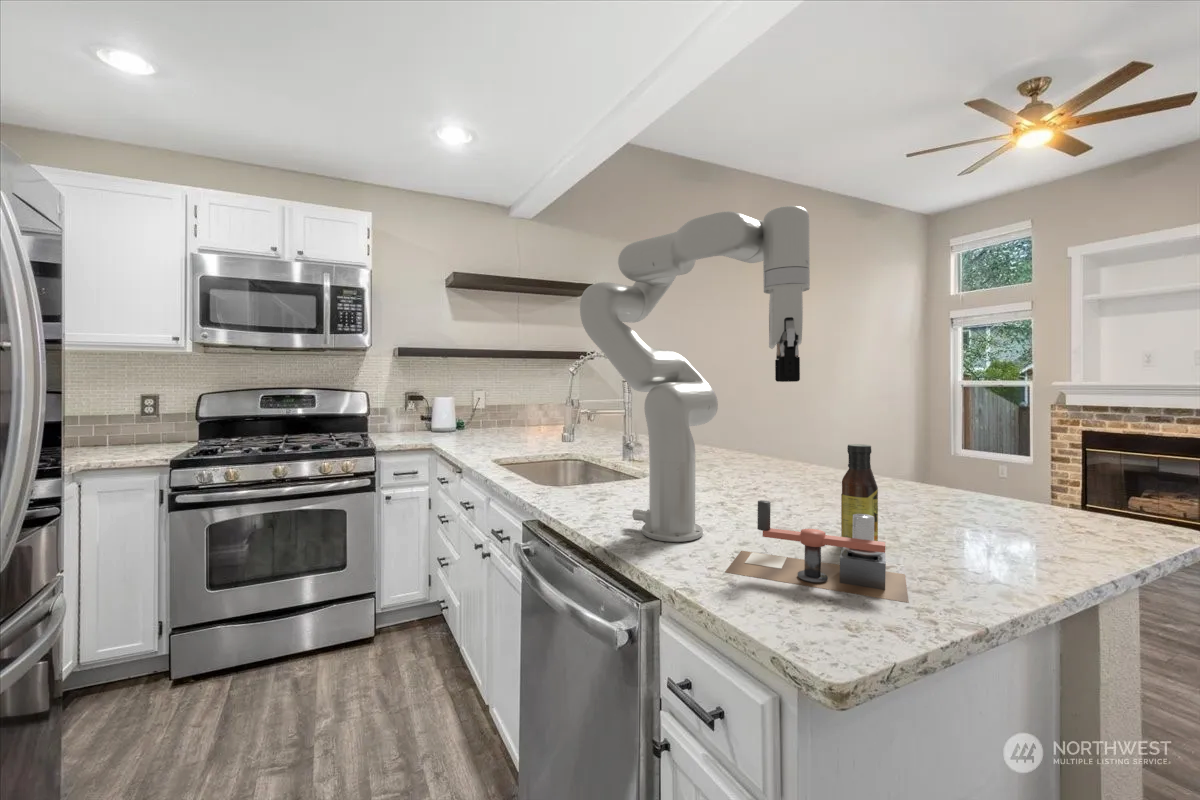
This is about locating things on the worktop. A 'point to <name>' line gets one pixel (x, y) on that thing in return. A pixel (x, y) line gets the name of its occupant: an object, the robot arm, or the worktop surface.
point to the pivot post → (812, 567)
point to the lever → (811, 534)
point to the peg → (863, 535)
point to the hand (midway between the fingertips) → (786, 381)
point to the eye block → (862, 571)
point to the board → (788, 572)
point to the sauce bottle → (858, 490)
